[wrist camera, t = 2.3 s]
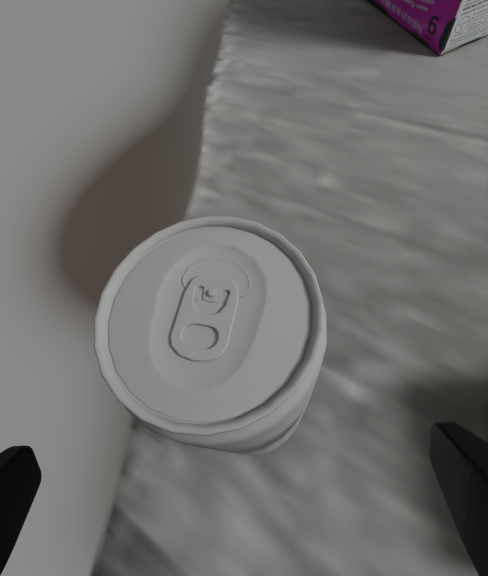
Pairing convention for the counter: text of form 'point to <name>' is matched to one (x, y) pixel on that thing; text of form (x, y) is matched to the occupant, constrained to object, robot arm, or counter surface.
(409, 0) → the candy bar box
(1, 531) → the robot arm
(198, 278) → the beverage can
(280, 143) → the counter surface
